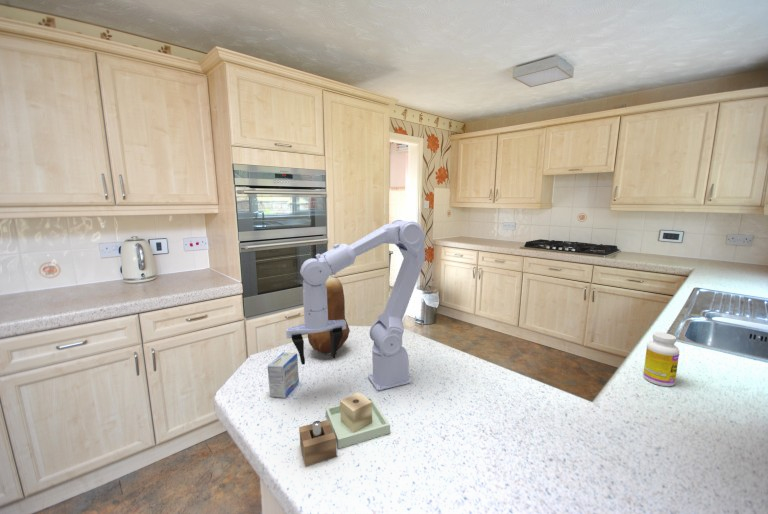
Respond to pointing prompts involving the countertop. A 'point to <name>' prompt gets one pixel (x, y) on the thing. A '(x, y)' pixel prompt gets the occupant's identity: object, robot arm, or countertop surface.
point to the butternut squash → (331, 317)
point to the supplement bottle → (661, 360)
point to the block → (356, 412)
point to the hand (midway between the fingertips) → (318, 359)
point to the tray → (368, 432)
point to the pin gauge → (316, 429)
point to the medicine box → (283, 374)
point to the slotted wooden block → (317, 443)
